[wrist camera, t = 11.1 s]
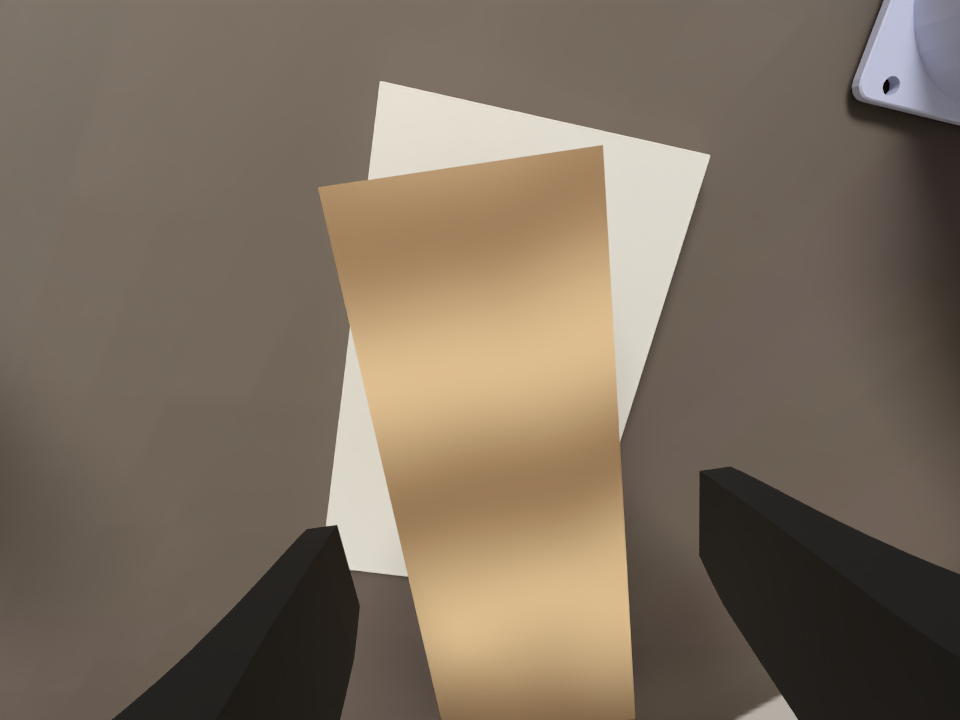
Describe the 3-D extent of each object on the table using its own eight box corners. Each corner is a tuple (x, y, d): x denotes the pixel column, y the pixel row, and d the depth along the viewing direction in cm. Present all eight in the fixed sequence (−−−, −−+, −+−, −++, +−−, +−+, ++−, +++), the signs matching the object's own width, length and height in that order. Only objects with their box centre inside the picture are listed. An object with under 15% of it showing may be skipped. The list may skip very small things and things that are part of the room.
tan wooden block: (593, 579, 18) (635, 718, 14) (452, 596, 19) (445, 739, 14) (558, 153, 14) (602, 144, 9) (370, 181, 14) (318, 187, 9)
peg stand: (696, 156, 17) (745, 152, 14) (566, 578, 22) (582, 637, 20) (384, 86, 16) (369, 67, 13) (326, 548, 21) (307, 606, 18)
